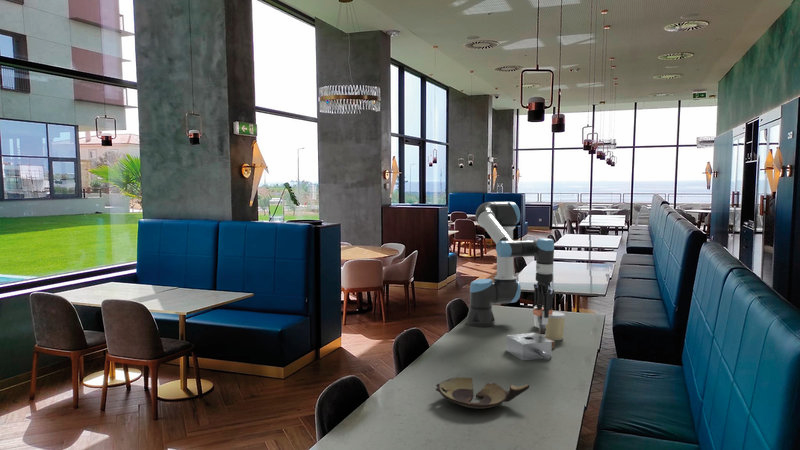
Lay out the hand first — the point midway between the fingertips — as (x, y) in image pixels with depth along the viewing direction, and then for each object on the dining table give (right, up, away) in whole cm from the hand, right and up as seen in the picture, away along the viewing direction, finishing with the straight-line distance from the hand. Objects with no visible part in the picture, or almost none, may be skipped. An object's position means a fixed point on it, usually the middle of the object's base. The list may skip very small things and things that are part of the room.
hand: (542, 322), depth 246 cm
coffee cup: (+10, -10, +14) cm, 19 cm away
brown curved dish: (-38, -16, -65) cm, 77 cm away
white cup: (+8, -8, +34) cm, 36 cm away
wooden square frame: (0, -11, 0) cm, 11 cm away
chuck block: (-8, -12, -15) cm, 21 cm away
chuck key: (0, -5, 0) cm, 5 cm away
